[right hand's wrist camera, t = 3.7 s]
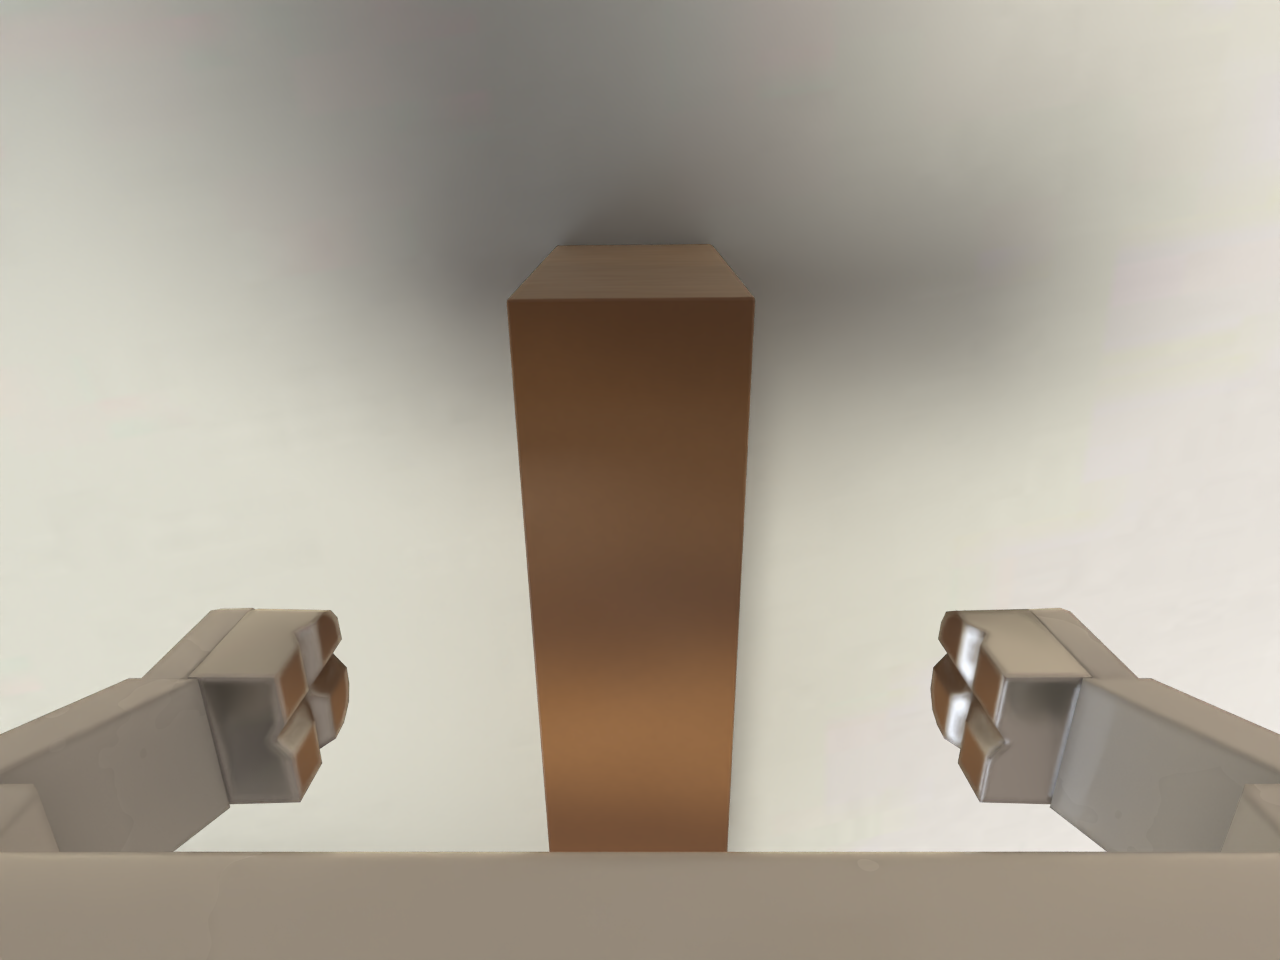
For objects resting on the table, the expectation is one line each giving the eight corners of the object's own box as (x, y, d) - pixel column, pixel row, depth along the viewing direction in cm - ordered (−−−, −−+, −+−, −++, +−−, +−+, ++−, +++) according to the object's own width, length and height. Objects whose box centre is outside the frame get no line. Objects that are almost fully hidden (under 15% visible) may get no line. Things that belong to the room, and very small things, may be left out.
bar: (556, 245, 22) (505, 299, 13) (712, 243, 22) (756, 297, 13) (587, 865, 31) (569, 1112, 23) (695, 864, 31) (714, 1112, 23)
